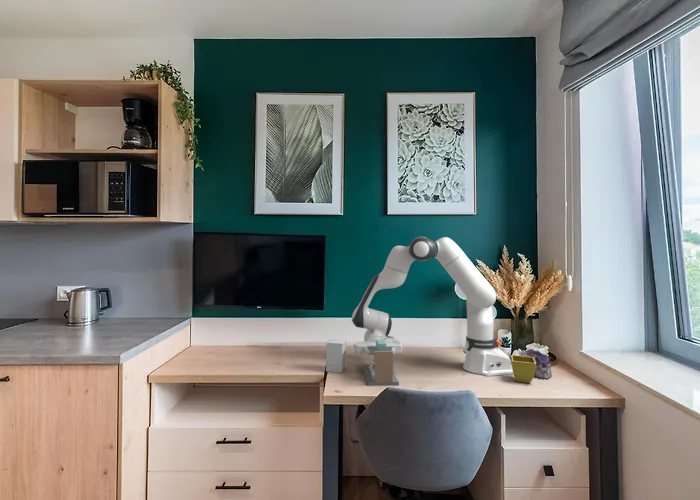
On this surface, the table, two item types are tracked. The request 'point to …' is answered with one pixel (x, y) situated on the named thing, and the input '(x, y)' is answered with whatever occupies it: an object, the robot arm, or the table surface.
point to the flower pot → (523, 368)
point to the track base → (381, 370)
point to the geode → (539, 363)
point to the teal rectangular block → (380, 345)
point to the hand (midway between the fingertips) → (380, 352)
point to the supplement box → (335, 355)
